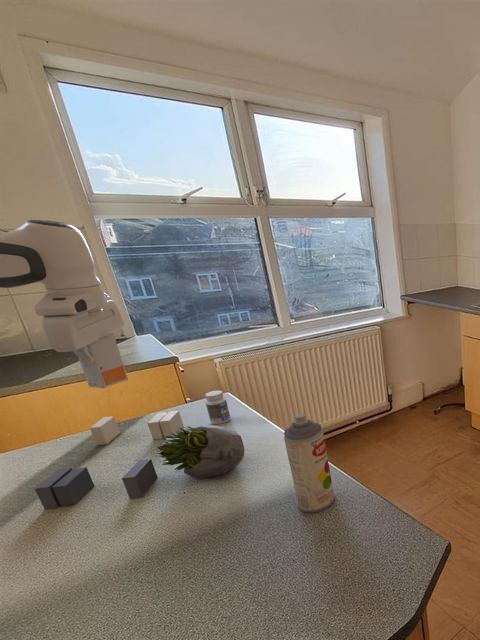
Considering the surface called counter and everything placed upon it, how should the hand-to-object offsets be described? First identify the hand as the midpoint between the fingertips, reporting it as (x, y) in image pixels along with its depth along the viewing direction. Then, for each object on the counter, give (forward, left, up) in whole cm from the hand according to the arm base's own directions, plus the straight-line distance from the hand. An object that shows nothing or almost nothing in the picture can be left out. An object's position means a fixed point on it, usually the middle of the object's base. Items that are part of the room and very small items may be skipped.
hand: (100, 358), depth 99 cm
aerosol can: (+48, -36, -23) cm, 64 cm away
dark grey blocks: (+5, -22, -23) cm, 32 cm away
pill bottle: (+17, +9, -23) cm, 30 cm away
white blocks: (0, +4, -23) cm, 23 cm away
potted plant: (+23, -19, -23) cm, 37 cm away
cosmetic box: (0, 0, -6) cm, 6 cm away
